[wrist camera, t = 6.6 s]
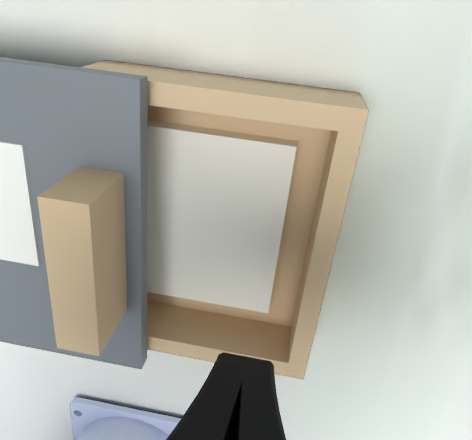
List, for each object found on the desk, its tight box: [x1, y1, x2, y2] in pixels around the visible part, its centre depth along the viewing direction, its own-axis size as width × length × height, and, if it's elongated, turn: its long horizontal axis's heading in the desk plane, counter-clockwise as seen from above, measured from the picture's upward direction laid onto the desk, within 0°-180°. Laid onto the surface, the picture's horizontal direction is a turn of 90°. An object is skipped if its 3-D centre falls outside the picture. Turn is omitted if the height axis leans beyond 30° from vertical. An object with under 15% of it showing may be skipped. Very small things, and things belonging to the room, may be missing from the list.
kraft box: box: [82, 60, 369, 379], centre depth 18 cm, size 12×10×3 cm
